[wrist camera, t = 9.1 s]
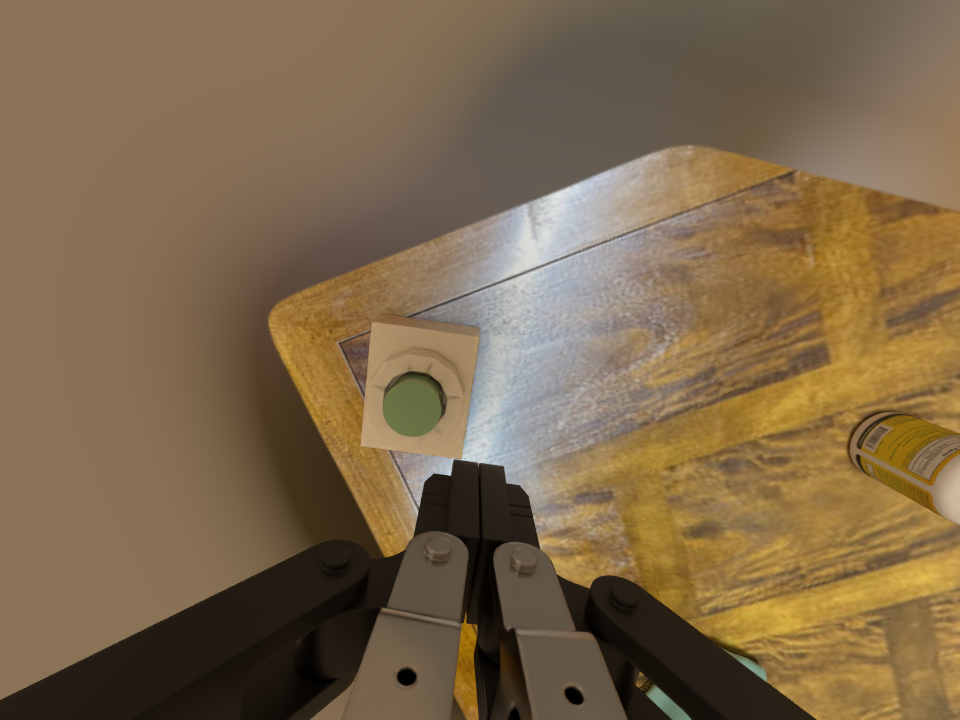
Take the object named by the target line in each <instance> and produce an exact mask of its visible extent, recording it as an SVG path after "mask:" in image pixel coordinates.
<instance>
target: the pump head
mask: <svg viewBox="0 0 960 720" xmlns="http://www.w3.org/2000/svg"><path fill="white" fill-rule="evenodd" d="M442 406H443V396H442V392H441V390H440V388H439V386H438V385H437V384H436V383H435V382H434V381H433V380H432V379H430V378H428V377H426V376H424V375H420V374H409V375H406V376H403V377H401V378H399V379H398V380H397V381H395V383H394V384H393V385H392V387H391V388H390V390H389V391H388V393H387V395H386V397H385V399H384V402H383V415H384V418H385V420H386V422H387V424H388V425H389V426H390V427H391V428H392V429H393V430H394V431H395V432H397V433H399V434H401V435H404V436H409V437H417V436H421V435H424V434H426V433H428V432H430V431H431V430H432V429H433V428H434V427H435V426H436V425H437V423H438V421H439V419H440V416H441V411H442Z"/></svg>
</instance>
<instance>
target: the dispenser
mask: <svg viewBox="0 0 960 720" xmlns="http://www.w3.org/2000/svg"><path fill="white" fill-rule="evenodd" d="M479 339H480V333H479V328H478V327H471V326H464V325H457V324H450V323H443V322H436V321H429V320H423V319H416V318H409V317H402V316H395V315H388V314H382V315H380V316H379V317H378V318H376V319H375V320H373V321H372V324H371V335H370V346H369V358H368V369H367V380H366V391H365V402H364V413H363V424H362V436H361V446H364V447H372V448H379V449H387V450H395V451H402V452H410V453H418V454H425V455H433V456H441V457H448V458H456V459H462V452H463V445H464V439H465V432H466V425H467V419H468V412H469V406H470V399H471V392H472V386H473V379H474V372H475V366H476V359H477V352H478V346H479ZM409 374H420V375H424V376H426V377H428V378H430V379H432V380H433V381H434V382H435V383H436V384H437V385H438V386H439V388H440V390H441V392H442V396H443V406H442V411H441V416H440V419H439V421H438V423H437V425H436V426H435V427H434V428H433V429H432V430H431V431H430V432H428V433H426V434H424V435H421V436H417V437H409V436H404V435H401V434H399V433H397V432H395V431H394V430H393V429H392V428H391V427H390V426H389V425H388V424H387V422H386V420H385V418H384V415H383V402H384V399H385V397H386V395H387V393H388V391H389V390H390V388H391V387H392V385H393V384H394V383H395V381H397V380H398V379H399V378H401V377H403V376H406V375H409Z"/></svg>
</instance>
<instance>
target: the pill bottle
mask: <svg viewBox="0 0 960 720" xmlns="http://www.w3.org/2000/svg"><path fill="white" fill-rule="evenodd" d="M850 455H851V459H852V461H853V463H854V464H855V465H856V466H857V468H858V469H860V470H861V471H862V472H864V473H866V474H867V475H869V476H871V477H872V478H874V479H876V480H878V481H880V482H881V483H883V484H885V485H887V486H888V487H890V488H892V489H894V490H895V491H897V492H899V493H901V494H903V495H904V496H906V497H908V498H910V499H912V500H913V501H915V502H917V503H919V504H920V505H922V506H924V507H926V508H927V509H929V510H931V511H933V512H934V513H936V514H938V515H940V516H942V517H943V518H945V519H947V520H949V521H951V522H954V523H956V524H959V525H960V434H959V433H957V432H954V431H951V430H948V429H946V428H943V427H940V426H938V425H935V424H932V423H930V422H927V421H924V420H922V419H919V418H916V417H913V416H911V415H908V414H904V413H900V412H884V413H880V414H877V415H874V416H872V417H870V418H868V419H867V420H866V421H864V422H863V423H862V424H861V425H860V426H859V427H858V429H857V430H856V431H855V433H854V435H853V437H852V440H851V443H850Z"/></svg>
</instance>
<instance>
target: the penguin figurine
mask: <svg viewBox="0 0 960 720" xmlns="http://www.w3.org/2000/svg"><path fill="white" fill-rule="evenodd" d="M722 649H723V648H722ZM723 650H725V649H723ZM725 651H726V652H727V653H729V654H730V655H731V656H733V657H734V658H735V659H737V660H738V661H739V662H741V663H742V664H743V665H745V666H746V667H747V668H749V669H750V670H751V671H753V672H754V673H755V674H757V675H758V676H759V677H761V678H762V679H763V680H765V681H766V682H767V676H766V672H765V670H764V669H763V668H762V667H761V666H759V665H758V664H756V663H755V662H753V661H752V660H750V659H748V658H746V657H743V656H740V655H737V654H734V653H731V652H728V651H727V650H725ZM646 695H647V696H648V697H649V698H650V699H651V700H652V701H653V702H654V703H655V704H656V705H657V706H658V707H659V708H661V709H662V710H663V711H664V712H665V713H666V714H667V715H668V716H669V717H670V718H671V719H672V720H691V719H690V717H689V716H688V715H687V714H686V713H685V712H684V711H683V710H682V709H681V708H680V707H679V706H678V705H676V704H675V703H674V702H673V701H672V700H671V699H670V698H669V697H668V696H667V695H665V694H664V693H663V692H662V691H661V690H660V689H659V688H658V687H657V686H656V685H655V684H654V685H653V686H652V687H651V688H650V689H649V690H648V691H647V692H646Z"/></svg>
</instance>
